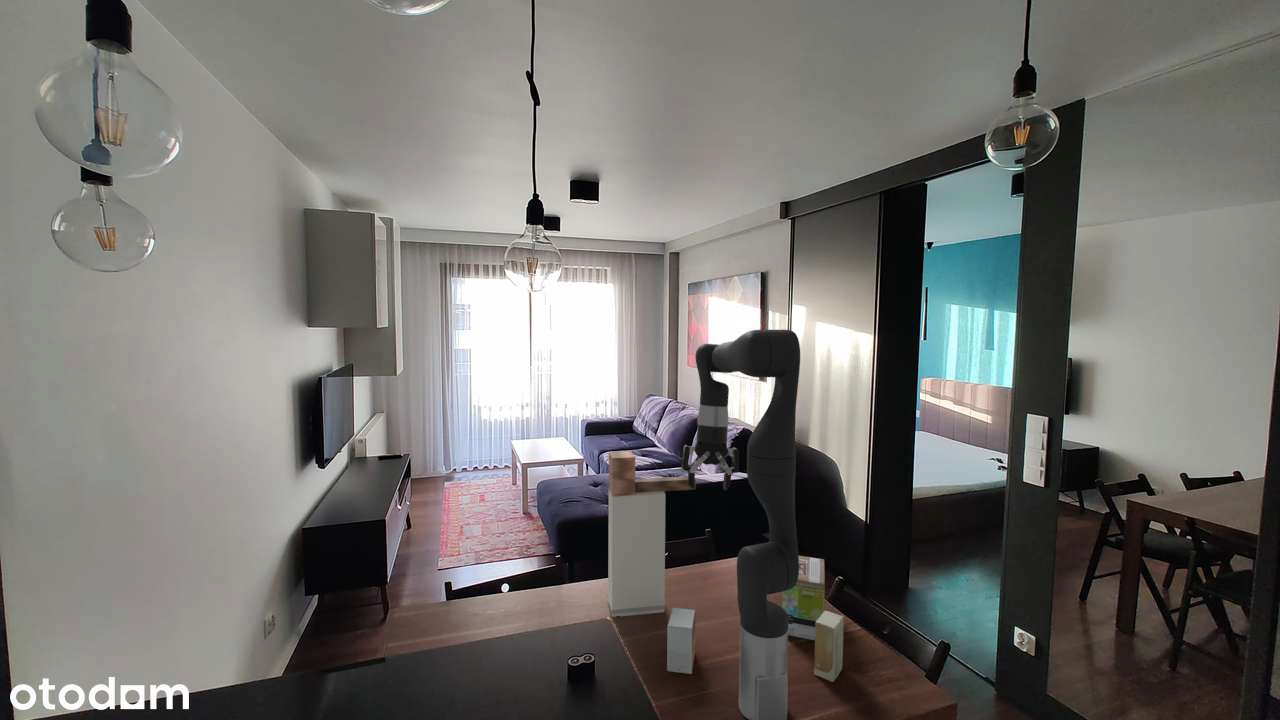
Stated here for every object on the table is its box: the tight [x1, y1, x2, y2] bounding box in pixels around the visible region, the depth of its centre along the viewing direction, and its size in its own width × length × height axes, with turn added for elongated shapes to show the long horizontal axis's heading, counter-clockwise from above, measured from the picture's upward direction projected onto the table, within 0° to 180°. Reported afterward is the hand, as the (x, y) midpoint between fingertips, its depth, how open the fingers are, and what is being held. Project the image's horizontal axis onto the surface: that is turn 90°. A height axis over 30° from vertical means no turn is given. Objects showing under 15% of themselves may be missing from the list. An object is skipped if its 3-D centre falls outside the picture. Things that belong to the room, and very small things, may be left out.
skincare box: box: [813, 609, 845, 683], centre depth 116 cm, size 6×4×12 cm
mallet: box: [608, 450, 697, 496], centre depth 141 cm, size 23×7×10 cm, turn 101°
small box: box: [666, 607, 696, 675], centre depth 119 cm, size 8×6×10 cm
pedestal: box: [607, 489, 666, 618], centre depth 141 cm, size 14×8×32 cm, turn 101°
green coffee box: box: [781, 555, 826, 641], centre depth 135 cm, size 15×10×15 cm, turn 161°
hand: (708, 488), depth 132 cm, fingers open, 8 cm apart
